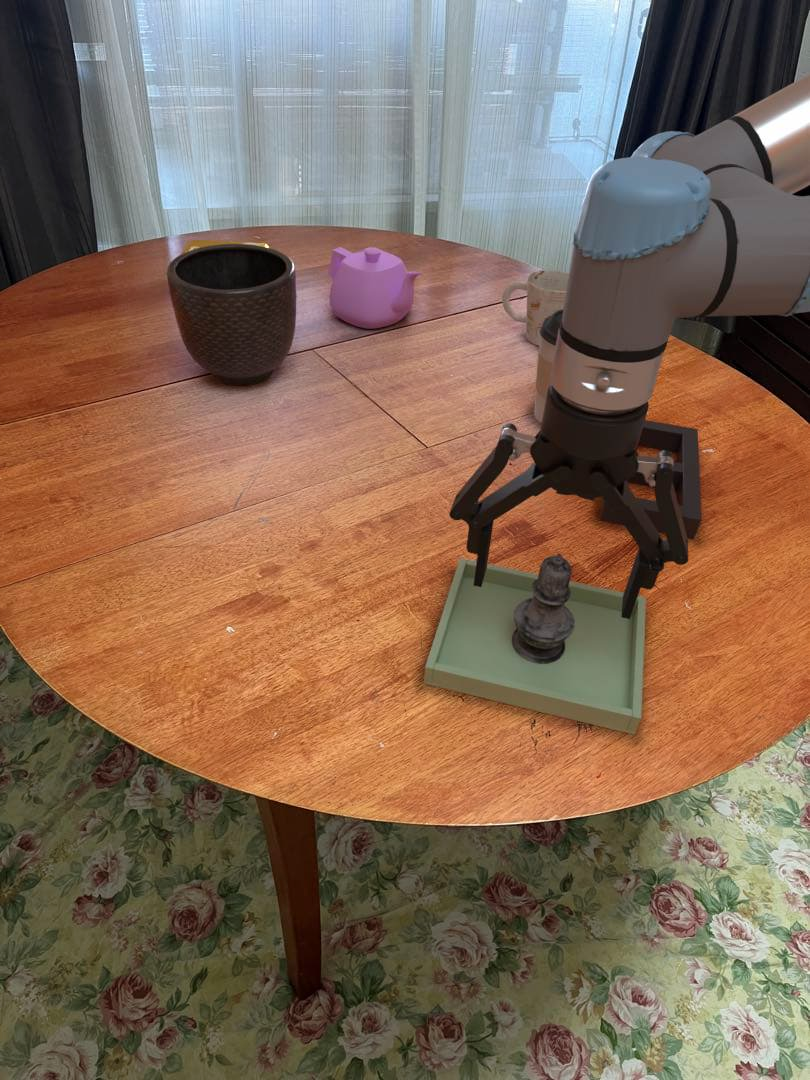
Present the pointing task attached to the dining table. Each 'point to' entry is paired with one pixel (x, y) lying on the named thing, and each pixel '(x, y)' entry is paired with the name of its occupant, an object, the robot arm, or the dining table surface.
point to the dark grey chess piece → (545, 614)
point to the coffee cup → (546, 360)
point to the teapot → (370, 287)
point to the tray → (555, 688)
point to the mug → (538, 299)
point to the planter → (235, 309)
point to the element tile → (203, 243)
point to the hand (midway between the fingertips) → (551, 592)
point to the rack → (683, 478)
